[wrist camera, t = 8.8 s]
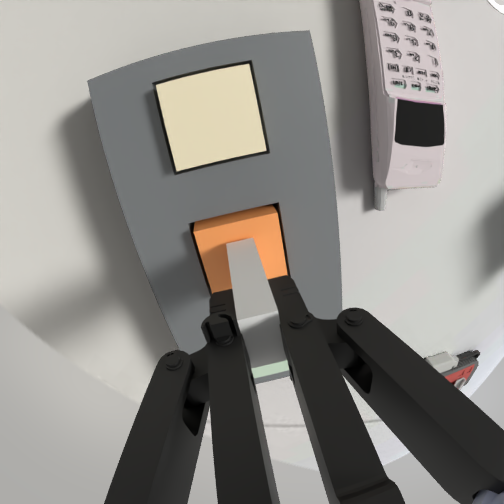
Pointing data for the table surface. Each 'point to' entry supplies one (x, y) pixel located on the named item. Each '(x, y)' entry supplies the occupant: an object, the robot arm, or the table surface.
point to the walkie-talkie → (455, 366)
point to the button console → (224, 174)
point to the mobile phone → (404, 95)
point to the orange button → (235, 229)
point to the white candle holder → (497, 6)
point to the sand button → (211, 116)
